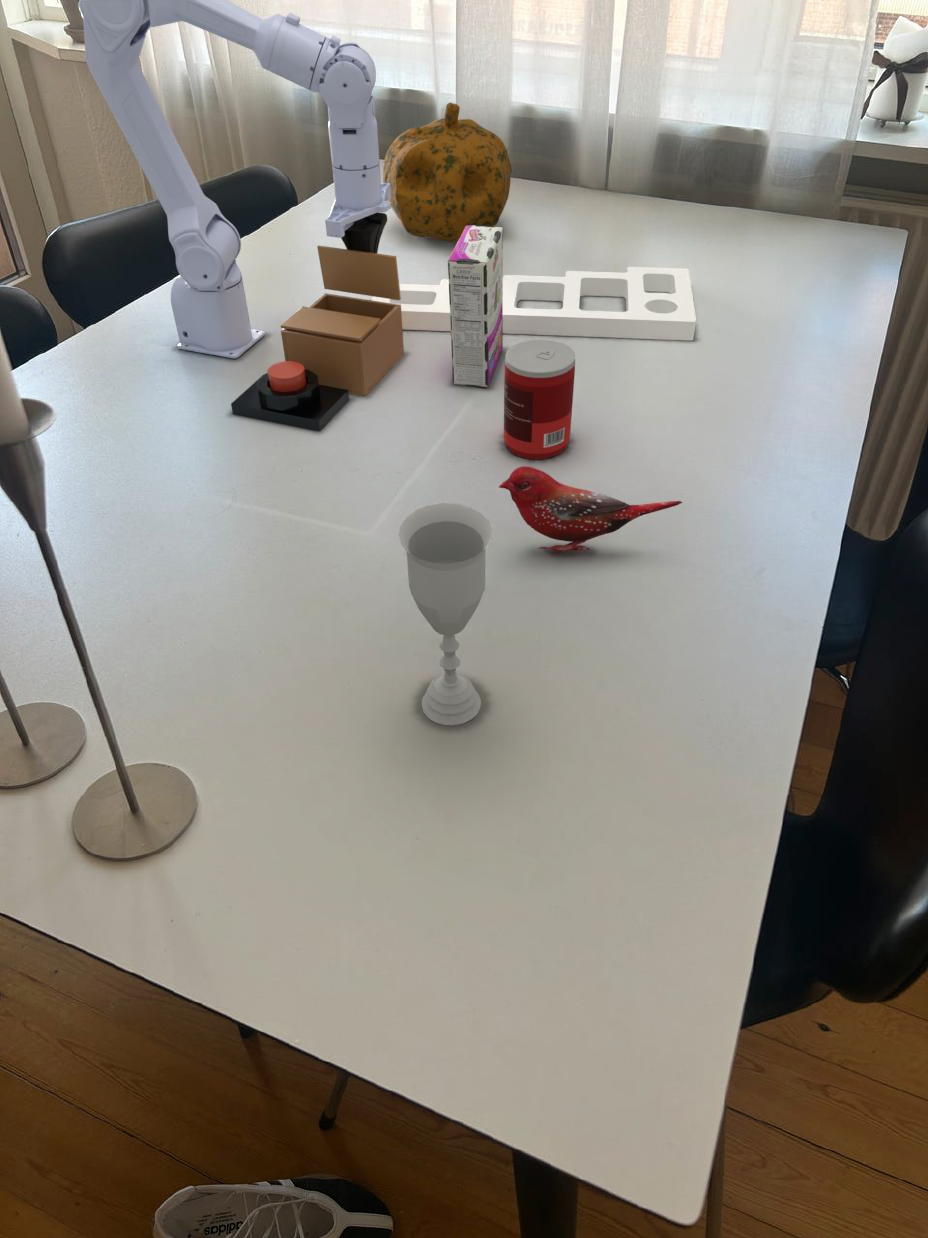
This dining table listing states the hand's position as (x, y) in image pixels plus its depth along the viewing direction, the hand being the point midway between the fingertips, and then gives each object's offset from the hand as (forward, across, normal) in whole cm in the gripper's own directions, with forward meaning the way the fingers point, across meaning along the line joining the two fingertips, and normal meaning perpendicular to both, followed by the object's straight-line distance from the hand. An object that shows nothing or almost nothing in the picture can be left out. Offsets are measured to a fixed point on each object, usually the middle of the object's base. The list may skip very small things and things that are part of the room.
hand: (365, 273), depth 125 cm
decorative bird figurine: (+10, -34, -40) cm, 54 cm away
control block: (+10, -19, +2) cm, 21 cm away
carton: (+10, -7, 0) cm, 12 cm away
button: (+7, -19, +2) cm, 20 cm away
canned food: (+10, -16, -29) cm, 35 cm away
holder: (+10, +19, -17) cm, 27 cm away
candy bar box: (+10, -1, -16) cm, 19 cm away
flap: (-1, -2, 0) cm, 2 cm away
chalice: (+10, -58, -35) cm, 69 cm away
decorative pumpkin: (+10, +43, +6) cm, 44 cm away
